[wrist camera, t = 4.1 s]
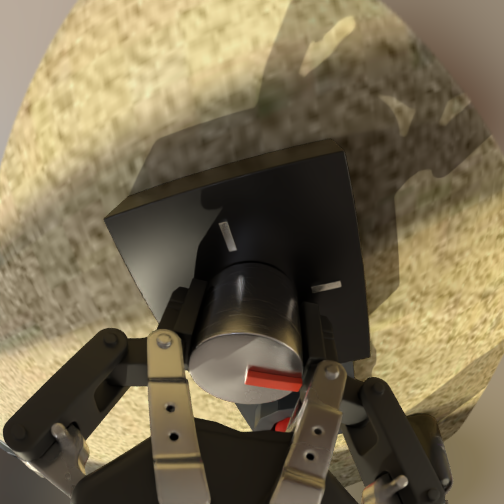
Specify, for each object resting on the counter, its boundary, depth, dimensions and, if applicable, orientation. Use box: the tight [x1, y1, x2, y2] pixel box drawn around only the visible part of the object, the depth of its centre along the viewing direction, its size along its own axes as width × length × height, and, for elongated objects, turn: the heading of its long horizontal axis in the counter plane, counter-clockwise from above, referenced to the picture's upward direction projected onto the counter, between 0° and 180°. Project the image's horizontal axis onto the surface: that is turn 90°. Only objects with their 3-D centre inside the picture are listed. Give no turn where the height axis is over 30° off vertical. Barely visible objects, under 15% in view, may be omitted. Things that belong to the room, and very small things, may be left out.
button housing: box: [235, 361, 355, 434], centre depth 22 cm, size 11×9×4 cm
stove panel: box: [104, 139, 371, 373], centre depth 17 cm, size 12×11×3 cm
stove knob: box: [188, 263, 304, 404], centre depth 13 cm, size 4×4×5 cm
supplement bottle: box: [407, 414, 453, 504], centre depth 22 cm, size 7×7×12 cm
